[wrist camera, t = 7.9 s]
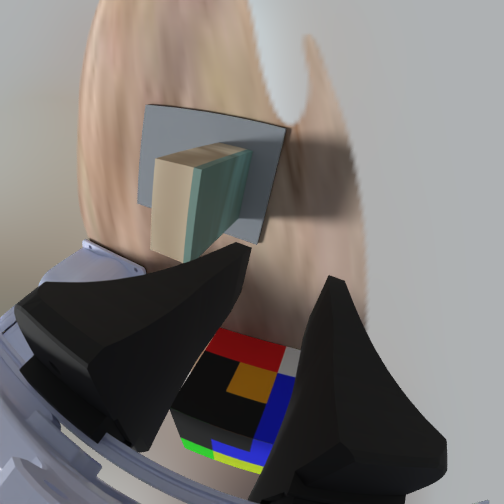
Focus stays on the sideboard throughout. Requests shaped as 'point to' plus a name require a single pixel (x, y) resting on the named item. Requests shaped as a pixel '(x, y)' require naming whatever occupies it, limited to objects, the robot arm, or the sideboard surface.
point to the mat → (209, 132)
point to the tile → (196, 198)
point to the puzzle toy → (236, 399)
